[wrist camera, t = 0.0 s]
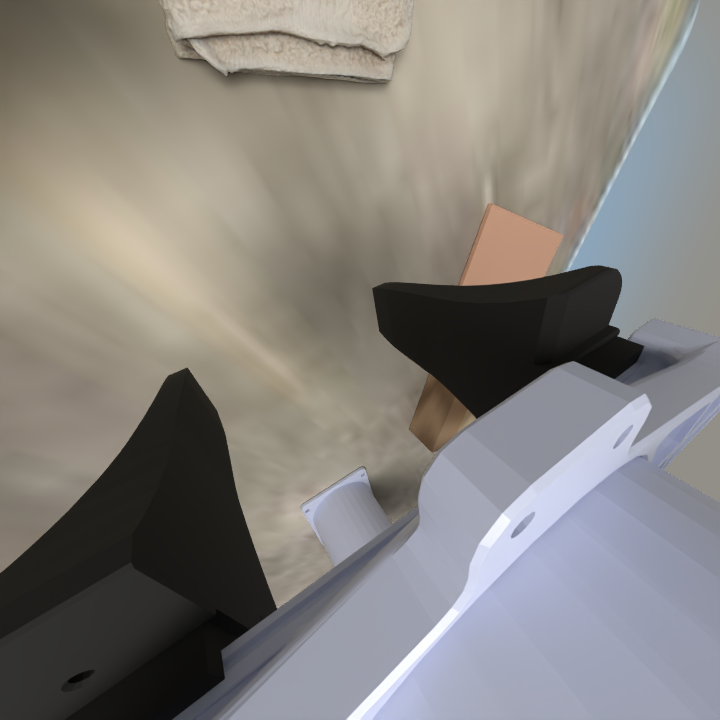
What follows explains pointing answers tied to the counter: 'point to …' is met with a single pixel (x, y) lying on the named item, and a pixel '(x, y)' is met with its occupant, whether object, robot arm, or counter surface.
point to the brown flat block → (437, 415)
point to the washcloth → (292, 36)
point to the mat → (509, 249)
